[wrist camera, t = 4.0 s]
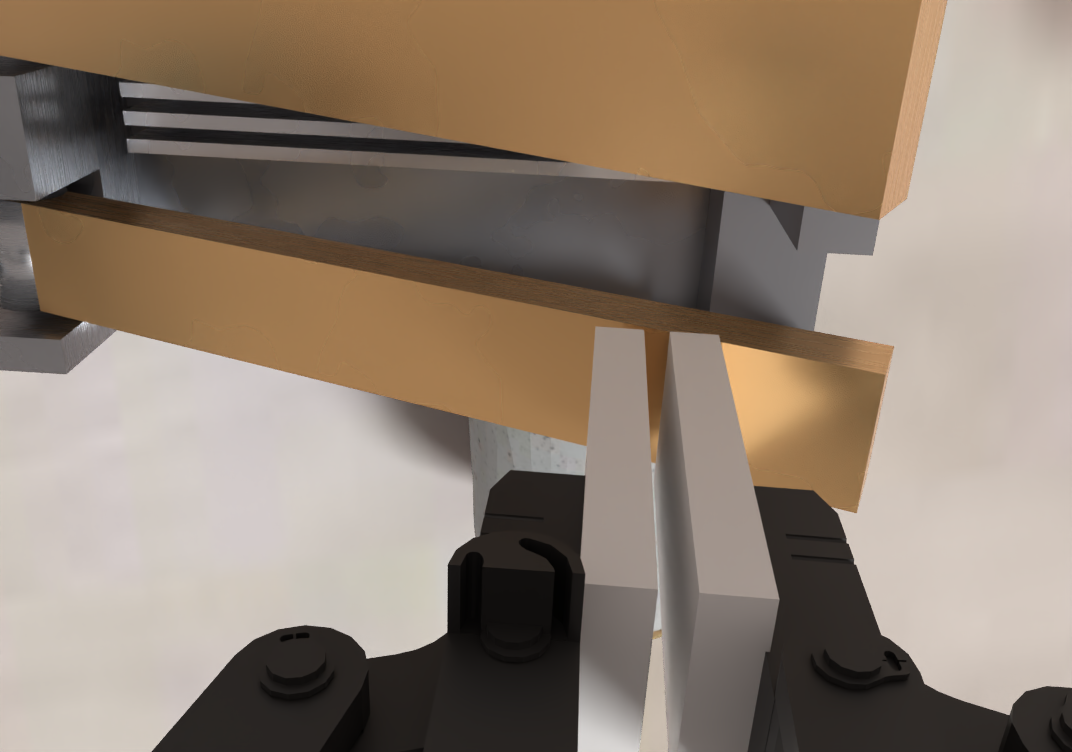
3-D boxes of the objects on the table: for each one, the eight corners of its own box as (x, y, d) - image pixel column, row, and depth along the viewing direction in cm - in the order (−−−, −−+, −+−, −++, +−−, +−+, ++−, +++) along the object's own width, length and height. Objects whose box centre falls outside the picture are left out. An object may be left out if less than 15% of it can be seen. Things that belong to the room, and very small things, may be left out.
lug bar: (694, 330, 25) (718, 431, 20) (746, -109, 21) (792, -116, 16) (789, 336, 25) (837, 439, 20) (861, -104, 21) (943, -109, 16)
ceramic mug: (485, 512, 32) (462, 675, 26) (478, 274, 29) (449, 389, 22) (812, 516, 32) (879, 683, 25) (844, 276, 29) (932, 393, 22)
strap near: (11, 39, 21) (-75, 45, 20) (-11, -86, 20) (-102, -88, 19) (912, 193, 12) (870, 226, 11) (956, -17, 11) (916, -11, 10)
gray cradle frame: (83, 244, 29) (-102, 363, 21) (23, -138, 25) (-235, -161, 17) (764, 283, 29) (828, 420, 21) (821, -101, 24) (928, -108, 17)
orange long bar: (43, 278, 23) (-24, 302, 22) (25, 178, 22) (-46, 195, 21) (868, 469, 17) (853, 522, 15) (895, 339, 16) (883, 382, 14)
